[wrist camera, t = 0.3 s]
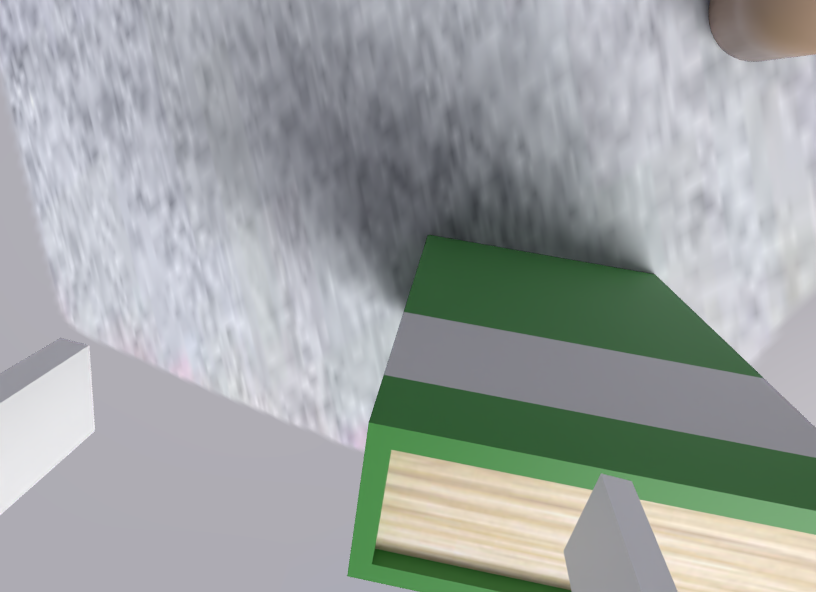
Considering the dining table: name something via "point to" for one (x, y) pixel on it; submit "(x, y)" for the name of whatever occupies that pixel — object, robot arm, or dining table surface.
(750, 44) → the tan rounded capsule
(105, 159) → the dining table surface
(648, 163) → the dining table surface
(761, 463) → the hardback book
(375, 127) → the dining table surface
